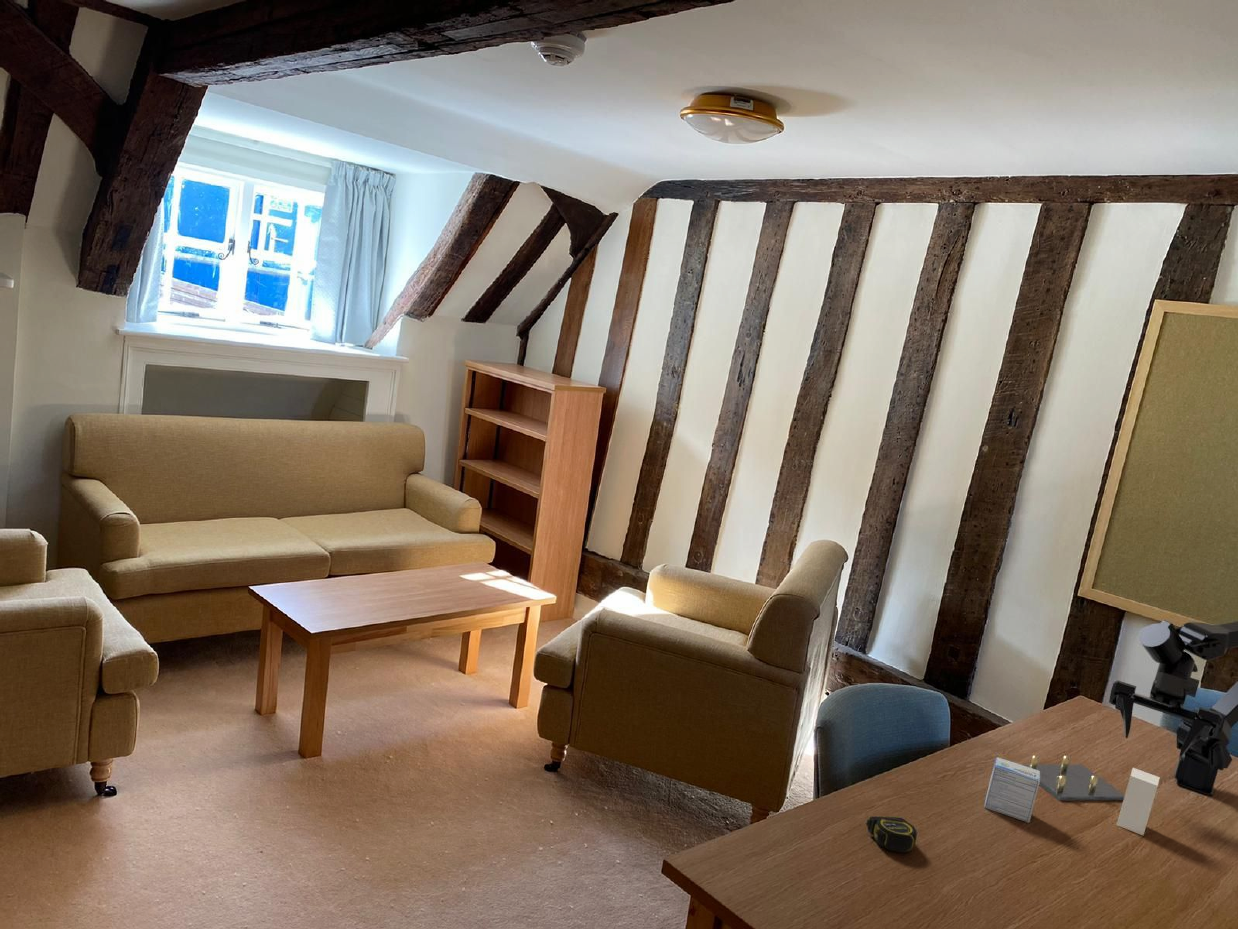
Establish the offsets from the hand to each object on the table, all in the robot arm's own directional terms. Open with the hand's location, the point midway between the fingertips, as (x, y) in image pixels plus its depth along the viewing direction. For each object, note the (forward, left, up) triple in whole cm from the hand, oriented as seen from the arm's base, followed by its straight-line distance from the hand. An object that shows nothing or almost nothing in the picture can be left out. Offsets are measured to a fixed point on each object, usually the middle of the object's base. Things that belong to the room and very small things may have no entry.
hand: (1153, 746), depth 182 cm
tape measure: (+37, +48, -14) cm, 62 cm away
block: (+1, +8, -13) cm, 15 cm away
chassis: (+12, -2, -13) cm, 18 cm away
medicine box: (+21, +21, -14) cm, 33 cm away
